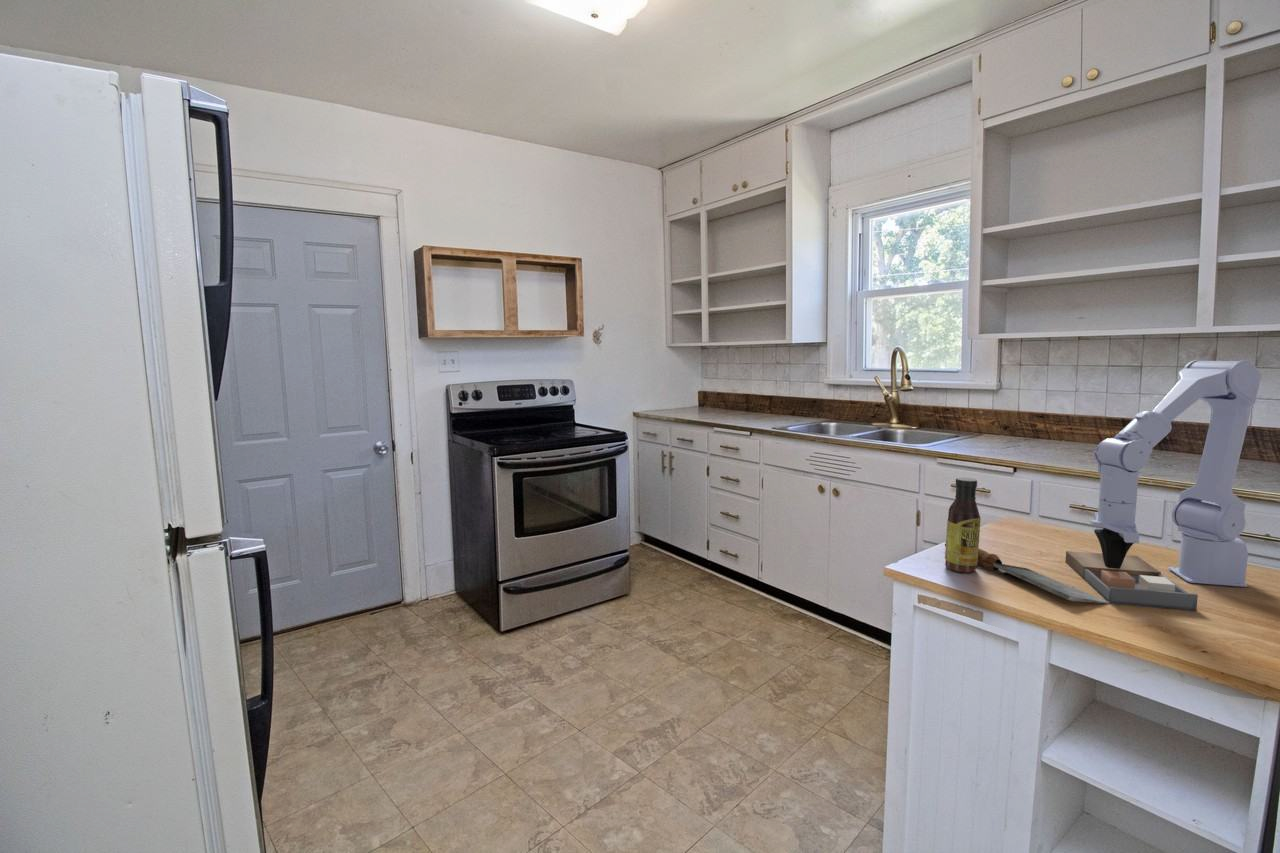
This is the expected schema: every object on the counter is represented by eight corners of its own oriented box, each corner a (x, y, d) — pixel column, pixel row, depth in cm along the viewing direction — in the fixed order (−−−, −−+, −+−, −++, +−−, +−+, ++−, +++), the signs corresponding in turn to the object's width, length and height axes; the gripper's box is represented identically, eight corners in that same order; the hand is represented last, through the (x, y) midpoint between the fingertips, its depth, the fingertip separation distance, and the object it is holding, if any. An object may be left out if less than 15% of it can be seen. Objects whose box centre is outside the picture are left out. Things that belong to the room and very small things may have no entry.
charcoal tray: (1160, 585, 119) (1162, 570, 119) (1196, 611, 108) (1197, 595, 107) (1083, 579, 123) (1084, 564, 123) (1109, 603, 111) (1111, 587, 111)
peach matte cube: (1135, 579, 113) (1134, 594, 114) (1125, 572, 117) (1124, 586, 118) (1110, 577, 115) (1109, 592, 115) (1101, 570, 118) (1100, 584, 119)
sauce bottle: (962, 576, 126) (966, 483, 124) (937, 566, 132) (941, 477, 130) (984, 571, 129) (989, 480, 126) (959, 562, 134) (963, 475, 132)
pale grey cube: (1175, 585, 111) (1173, 600, 111) (1164, 577, 114) (1163, 592, 115) (1148, 582, 112) (1147, 598, 112) (1139, 575, 116) (1138, 589, 116)
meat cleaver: (1119, 604, 112) (1121, 583, 112) (1068, 610, 110) (1070, 589, 109) (982, 549, 145) (983, 533, 144) (941, 553, 142) (941, 537, 142)
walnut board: (1136, 567, 129) (1136, 555, 129) (1159, 584, 120) (1161, 572, 119) (1065, 562, 133) (1066, 551, 133) (1083, 578, 123) (1083, 566, 123)
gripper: (1078, 490, 125) (1074, 553, 127) (1109, 508, 111) (1103, 578, 113) (1119, 492, 123) (1114, 556, 125) (1155, 510, 109) (1149, 582, 111)
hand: (1112, 567), depth 119 cm, fingers closed
